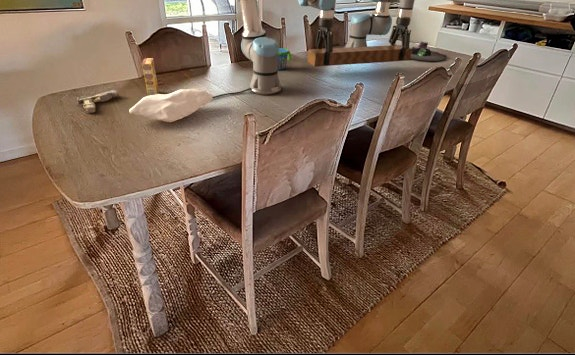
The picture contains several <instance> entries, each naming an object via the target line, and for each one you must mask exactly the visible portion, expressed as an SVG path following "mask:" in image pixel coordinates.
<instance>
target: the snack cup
mask: <svg viewBox="0 0 575 355" xmlns="http://www.w3.org/2000/svg"><path fill="white" fill-rule="evenodd" d="M278 49H279V51H278V71H279V70H280V71H281V70H284V69H286V67H287V62H288V61H289V62H290V61H291V60H292V56H291V51H290V50H289V49H287V48H284V47H283V48H282V47H278Z"/></svg>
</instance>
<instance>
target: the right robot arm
mask: <svg viewBox="0 0 575 355" xmlns="http://www.w3.org/2000/svg"><path fill="white" fill-rule="evenodd" d="M369 2H371V3H376V4H375V8H374V9H375V10H374V11H373V12H372V13H371V15H370V14H369V13H368V12H367V13H366V12H365V13H364V12H363V13H356V14H353V15H352V16H351V19H350V27H349V36H348V40H347V42H346V44H344V43H342V42H341V43H339V45H340V46H343V47H344V48H349V47H368V43H367V37H368V36H386V35H387V34H388V33H389V32H390V30H391V29H392V30H391V32H390V36H389V39H388V43H389V45H397V43H396V42H397V41H398V39H399V37H400V38H401V45H402V48H401V51H400V56H399V61H398V62H403V61H402V60H403V59H404V55H405V52H406V49H409V47H410V41H411V33H412V29H409V28H408V27H409V26H410V24H411V18H412V14H413V9H414V5H415V0H369ZM391 3H392V4H393V3H394V4H399V5H398V10H397V15H396V16H397V17H396V21H395V24H396V25H393V26H392V24H393V18H392V17H391V13H390V12H389V9H390V4H391Z"/></svg>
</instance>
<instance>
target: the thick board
mask: <svg viewBox="0 0 575 355" xmlns="http://www.w3.org/2000/svg"><path fill="white" fill-rule="evenodd" d="M401 48H402V44H394V45H391V44H389V45H372V46H367V47H349V48H345V47H334V48H333V52H332V53H330V58H329V65H324V56H325V52H326V49H325V48H322V49H317V48H310V49H308V53H307V63H308V64H310V65H311V66H313V67H332V66H346V65H362V64H363V65H364V64H376V63H378V64H379V63H391V62H392V63H393V62H400V61H399V56H400V51H401ZM411 53H412V47H410V46H409V49H406V52H405V55H404V59H403V60H402V61H401V62H406V61H411V59H410V57H411Z"/></svg>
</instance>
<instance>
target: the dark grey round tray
mask: <svg viewBox="0 0 575 355" xmlns="http://www.w3.org/2000/svg"><path fill="white" fill-rule="evenodd" d="M428 46H429V42H427V41H420V43H419V45H417V47H416V46H412V47H411V48H412V53H411V57H410V60H415V61H416V60H417V61H425V62H437V61H443V60H447V55H446V54H444V53H440V52H438V51H433V50H431V48H428Z"/></svg>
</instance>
